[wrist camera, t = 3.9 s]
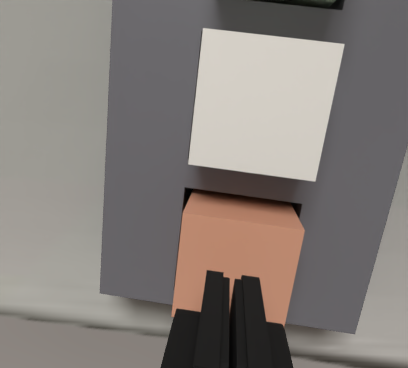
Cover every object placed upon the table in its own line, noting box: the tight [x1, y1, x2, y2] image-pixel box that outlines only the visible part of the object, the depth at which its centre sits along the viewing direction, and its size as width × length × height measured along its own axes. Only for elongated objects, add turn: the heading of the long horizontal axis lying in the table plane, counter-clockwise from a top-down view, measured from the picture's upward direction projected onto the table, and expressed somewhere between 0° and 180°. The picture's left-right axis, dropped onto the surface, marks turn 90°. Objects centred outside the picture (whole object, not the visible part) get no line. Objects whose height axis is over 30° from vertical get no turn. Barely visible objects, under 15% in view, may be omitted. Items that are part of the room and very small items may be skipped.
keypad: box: [100, 0, 408, 334], centre depth 15 cm, size 19×12×3 cm, turn 173°
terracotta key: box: [171, 189, 305, 326], centre depth 14 cm, size 4×4×4 cm
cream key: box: [188, 28, 345, 182], centre depth 13 cm, size 4×4×4 cm
